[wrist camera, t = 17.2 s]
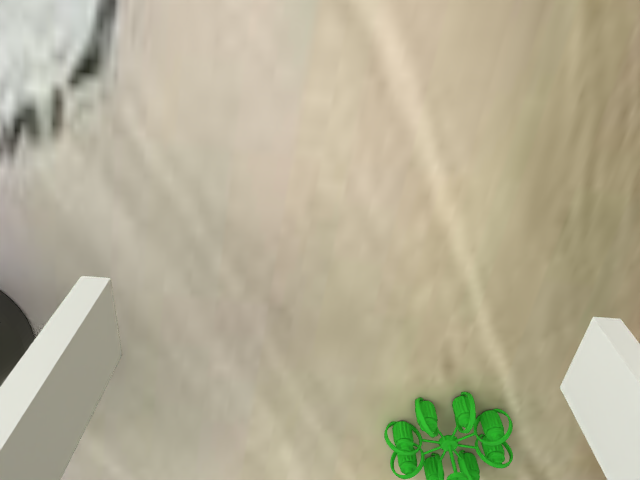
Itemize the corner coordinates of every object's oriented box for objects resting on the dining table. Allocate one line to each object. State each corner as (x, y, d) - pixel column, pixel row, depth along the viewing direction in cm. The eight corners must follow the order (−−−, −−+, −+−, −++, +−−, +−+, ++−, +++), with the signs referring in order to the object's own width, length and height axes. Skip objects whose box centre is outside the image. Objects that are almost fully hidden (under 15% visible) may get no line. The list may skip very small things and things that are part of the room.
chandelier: (418, 482, 65) (428, 537, 59) (357, 415, 58) (360, 469, 52) (530, 440, 60) (552, 495, 54) (476, 363, 54) (495, 416, 48)
